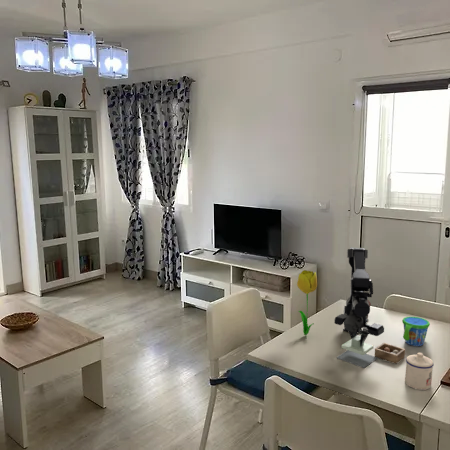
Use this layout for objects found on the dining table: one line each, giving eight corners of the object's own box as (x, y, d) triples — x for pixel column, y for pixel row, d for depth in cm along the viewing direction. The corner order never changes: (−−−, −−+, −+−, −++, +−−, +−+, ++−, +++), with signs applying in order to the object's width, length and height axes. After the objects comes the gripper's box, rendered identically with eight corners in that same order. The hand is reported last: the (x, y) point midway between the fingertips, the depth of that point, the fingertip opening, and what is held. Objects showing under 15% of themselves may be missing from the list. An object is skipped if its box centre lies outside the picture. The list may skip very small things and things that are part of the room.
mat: (336, 358, 185) (336, 357, 185) (350, 349, 192) (350, 348, 192) (364, 367, 176) (364, 367, 176) (377, 358, 184) (377, 357, 184)
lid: (341, 347, 184) (341, 337, 183) (351, 341, 190) (352, 331, 189) (363, 355, 178) (363, 344, 177) (373, 348, 184) (374, 338, 183)
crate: (374, 356, 186) (374, 348, 185) (383, 350, 191) (383, 342, 191) (396, 364, 180) (396, 355, 179) (404, 357, 185) (405, 349, 185)
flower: (317, 334, 207) (320, 270, 202) (312, 341, 200) (314, 274, 195) (299, 331, 211) (301, 267, 206) (293, 337, 204) (295, 272, 199)
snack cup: (414, 334, 207) (416, 313, 205) (436, 343, 198) (438, 320, 196) (392, 343, 198) (393, 320, 197) (414, 352, 190) (415, 328, 188)
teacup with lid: (432, 392, 159) (434, 361, 157) (403, 387, 162) (406, 356, 160) (431, 376, 170) (433, 347, 168) (404, 372, 173) (407, 343, 171)
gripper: (327, 307, 181) (326, 344, 184) (372, 319, 169) (370, 359, 171) (342, 300, 189) (340, 335, 192) (385, 311, 177) (383, 349, 179)
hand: (357, 344), depth 184 cm, fingers closed on lid, 3 cm apart
